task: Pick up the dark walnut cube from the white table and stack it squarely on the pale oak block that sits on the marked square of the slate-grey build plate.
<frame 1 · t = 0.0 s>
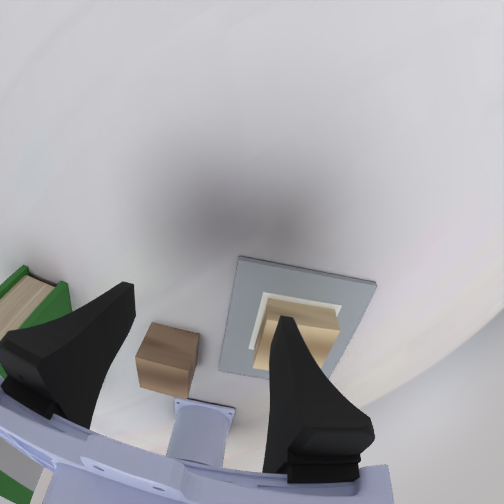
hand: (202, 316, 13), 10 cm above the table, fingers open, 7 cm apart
oak block: (293, 329, 26), point 1 cm above the table, touching build plate
hardback book: (56, 327, 30), on the table
walnut cube: (175, 344, 29), on the table
build plate: (289, 331, 27), on the table
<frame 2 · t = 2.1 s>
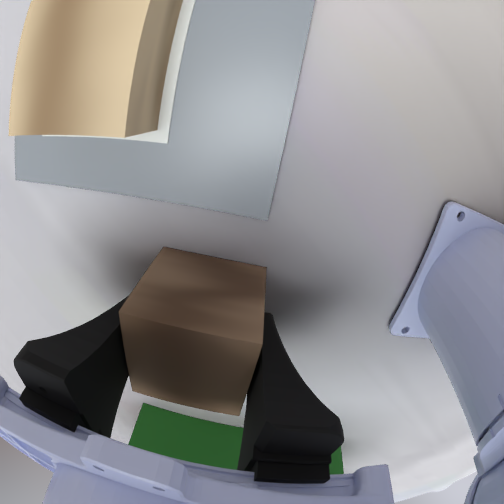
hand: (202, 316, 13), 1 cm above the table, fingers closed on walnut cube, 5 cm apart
oak block: (105, 60, 9), point 1 cm above the table, touching build plate
hardback book: (236, 441, 23), on the table
walnut cube: (208, 298, 15), on the table, touching gripper
build plate: (132, 61, 9), on the table
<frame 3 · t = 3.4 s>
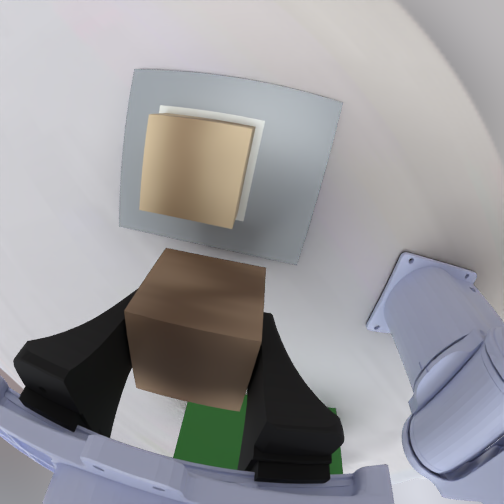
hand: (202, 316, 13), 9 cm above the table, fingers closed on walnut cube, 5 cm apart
oak block: (201, 162, 18), point 1 cm above the table, touching build plate
hardback book: (259, 412, 32), on the table
walnut cube: (209, 298, 15), point 7 cm above the table, touching gripper
build plate: (218, 163, 19), on the table
when the fingers open (6 cm above the table, at t = 4.8 s): walnut cube stays where it is, resting on oak block.
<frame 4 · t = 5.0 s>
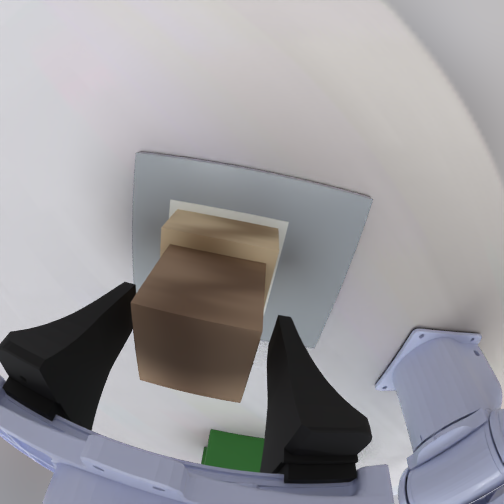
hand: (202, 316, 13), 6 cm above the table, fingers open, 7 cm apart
oak block: (220, 262, 18), point 1 cm above the table, touching build plate, walnut cube
hardback book: (272, 449, 32), on the table
walnut cube: (211, 293, 16), point 3 cm above the table, touching oak block
build plate: (237, 260, 19), on the table
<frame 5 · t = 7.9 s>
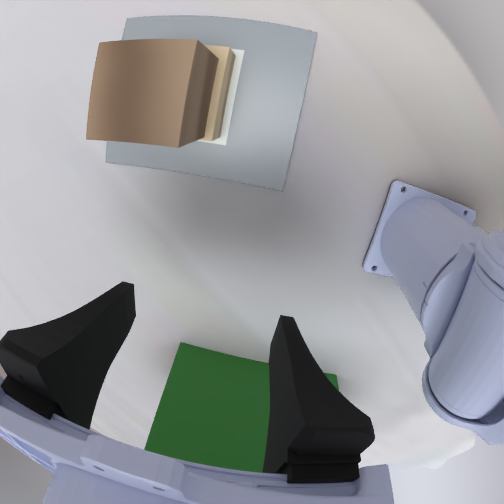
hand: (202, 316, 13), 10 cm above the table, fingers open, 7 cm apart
oak block: (185, 91, 17), point 1 cm above the table, touching build plate, walnut cube
hardback book: (253, 379, 31), on the table
walnut cube: (171, 93, 15), point 3 cm above the table, touching oak block
build plate: (201, 93, 18), on the table
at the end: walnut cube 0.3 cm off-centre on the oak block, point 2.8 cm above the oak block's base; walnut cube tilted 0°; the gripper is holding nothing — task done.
